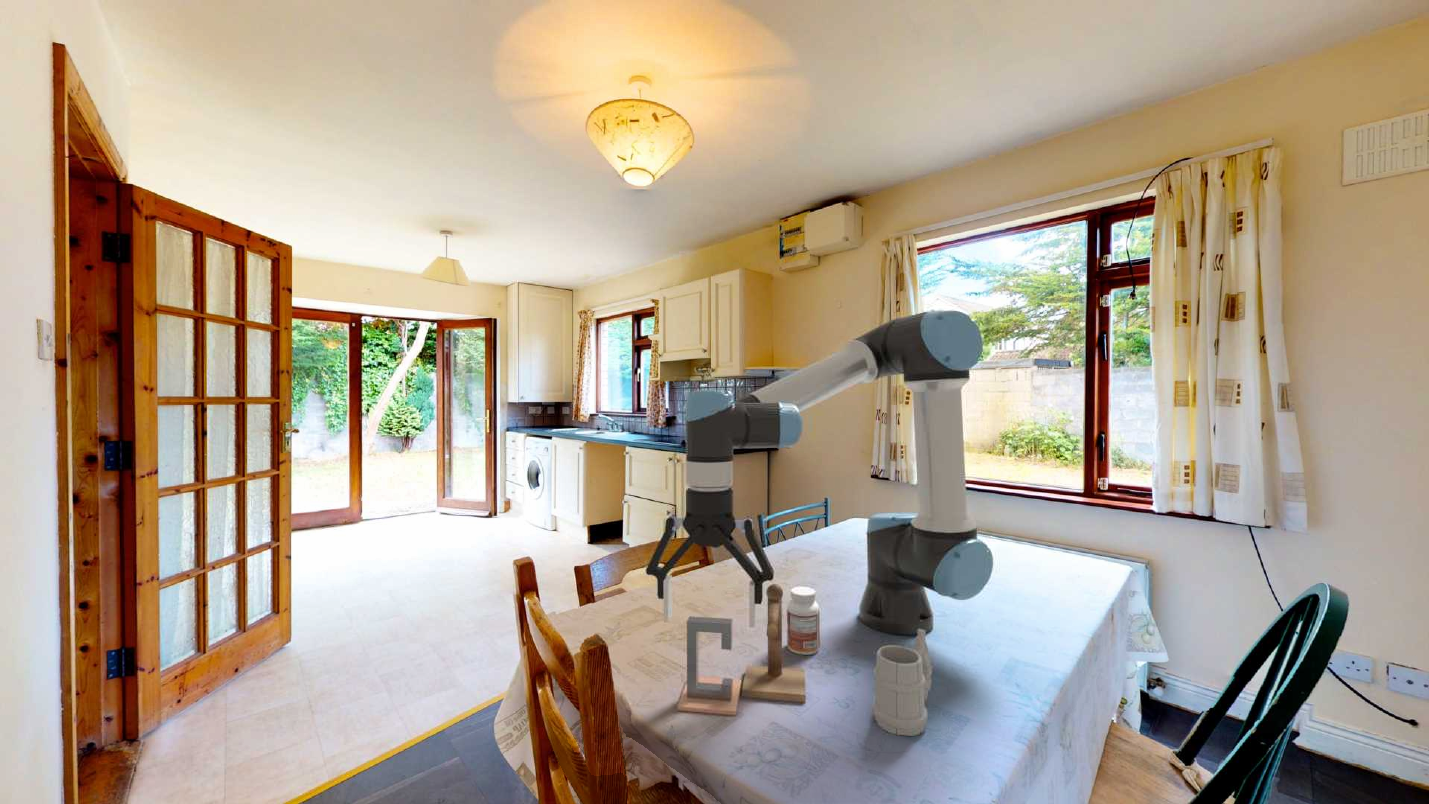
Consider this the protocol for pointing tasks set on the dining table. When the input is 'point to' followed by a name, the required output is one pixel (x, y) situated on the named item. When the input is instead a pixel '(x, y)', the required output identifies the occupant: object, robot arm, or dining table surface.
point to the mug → (902, 687)
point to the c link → (693, 684)
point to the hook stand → (774, 662)
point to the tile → (711, 705)
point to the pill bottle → (803, 622)
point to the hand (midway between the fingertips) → (709, 621)
